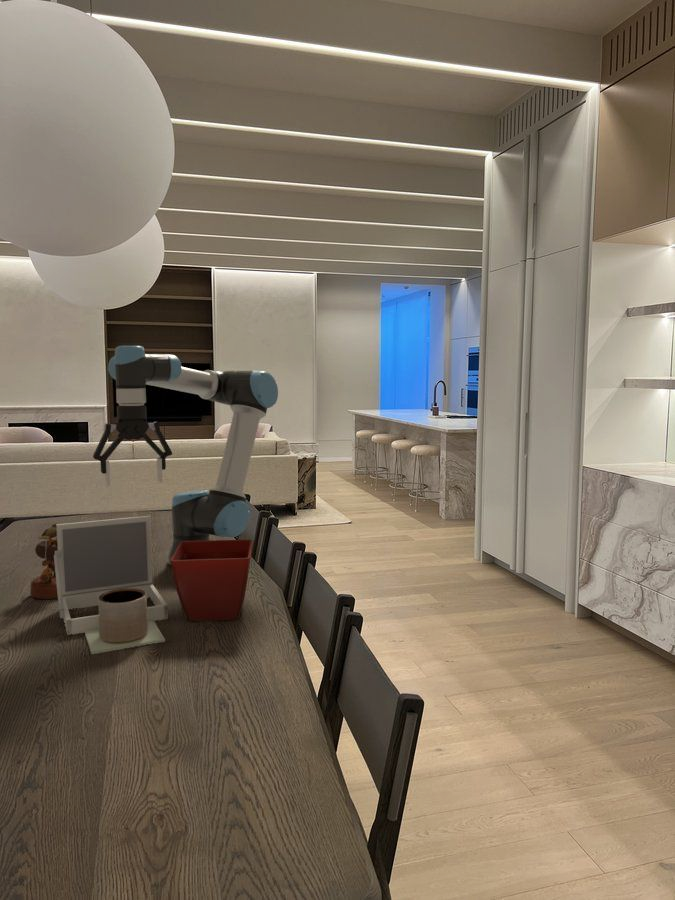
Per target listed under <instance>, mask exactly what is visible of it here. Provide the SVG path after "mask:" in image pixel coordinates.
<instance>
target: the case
mask: <svg viewBox="0 0 675 900" xmlns="http://www.w3.org/2000/svg"><path fill="white" fill-rule="evenodd" d="M56 526H57V536H56V538H57V546H58V551H55V555H54V563H55V573H56V583H57V593H58V598H57V601H58V602H57V603H58V611H59V618H60V619H62V620H63V619H64V620H63V622H64V623H65V624H64V627H66V628H65V631H66V634H67V636H70V635H71V634H72V635H77V634H82V633H83V634H85V631H91V630H97V629H99V614H95V615H94V614H93V615H88V616H82V617H80V616H79V617H75V618H74V617H73V618H71V614H70V611H69V610H68V609H71V610H75V608H78V609H83V608H91V607H96V606H98V597H99V596H100V595H101V594H103V593H105V592H108V591H112V590H117V589H126V588H133V589H140V590H143V591H145V592H146V596H147V599H150V598H151V599H150V601H153V602H152V604H153V606H147V618H148V621H153V620H154V622H157V621H156V620H158V621H163V619H164V620H168V619H169V609H168V608H169V607H168V604H167V602H166V601H165V600H164V598H163V596H162V595H161V593H159V591H158V590H157V588H156V586H154V583H153V563H152V562H153V560H152V559H153V558H152V557H153V556H152V531H151V530H152V529H151V528H152V526H151V515H143V516H142V515H141V516H131V517H121V518H111V519H110V518H109V519H100V520H91V521H90V520H89V521H88V520H87V521H80V522H79V521H78V522H68V523H67V522H66V523H57V524H56ZM149 597H150V598H149ZM98 607H99V606H98ZM72 608H74V609H72Z"/></svg>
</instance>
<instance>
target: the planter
mask: <svg viewBox="0 0 675 900" xmlns="http://www.w3.org/2000/svg"><path fill="white" fill-rule="evenodd" d="M147 599H148V598H147V596H146V592H145V591H143V590H140V589H133V588H126V589H117V590H112V591H108V592H105V593H103V594H101V595H100V596H99V597H98V615H99V635H100V638H101V639H102V640H104V641H106V642H110V643H126V642H131V641H135V640H138V639H140V638H142V637H143V636H144V635H145V634H146V633H147V632H148V618H147V607H148V604H147V602H148V600H147Z"/></svg>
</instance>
